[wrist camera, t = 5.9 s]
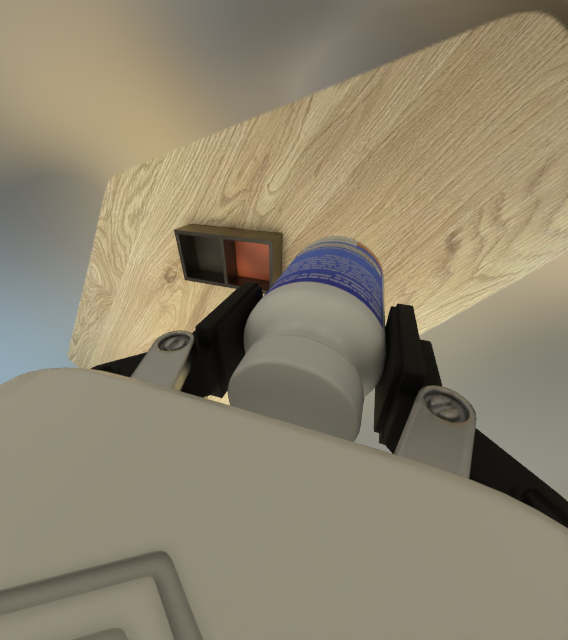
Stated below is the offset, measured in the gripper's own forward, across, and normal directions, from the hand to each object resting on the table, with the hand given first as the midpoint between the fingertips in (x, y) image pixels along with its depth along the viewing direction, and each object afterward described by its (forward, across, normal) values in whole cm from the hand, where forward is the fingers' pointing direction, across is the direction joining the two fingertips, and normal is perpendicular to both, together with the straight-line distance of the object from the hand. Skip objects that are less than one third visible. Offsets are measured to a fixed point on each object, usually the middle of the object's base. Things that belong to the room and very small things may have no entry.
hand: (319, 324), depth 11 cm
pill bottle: (+5, 0, 0) cm, 5 cm away
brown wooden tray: (+22, +16, +5) cm, 27 cm away
